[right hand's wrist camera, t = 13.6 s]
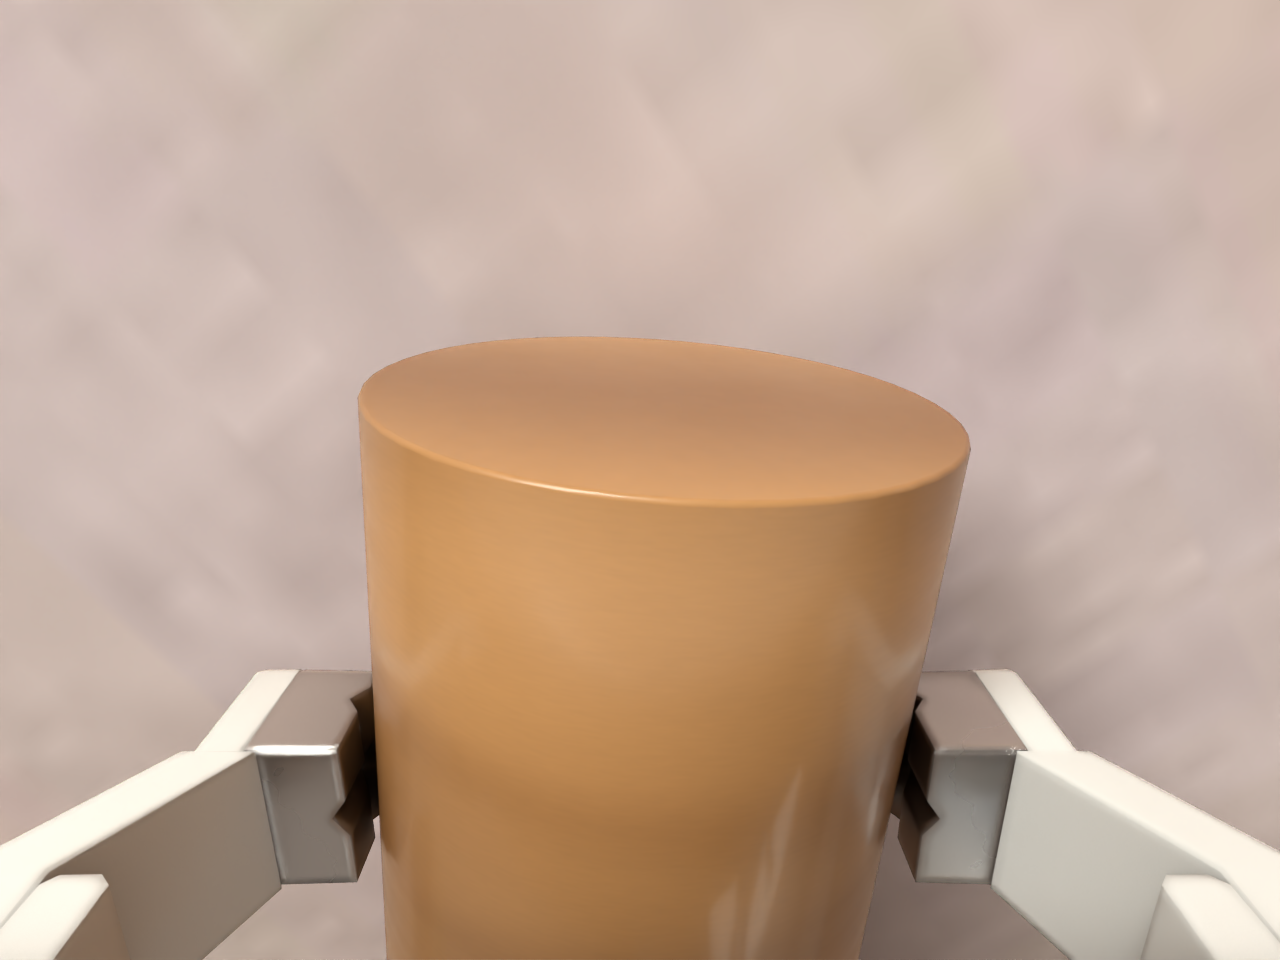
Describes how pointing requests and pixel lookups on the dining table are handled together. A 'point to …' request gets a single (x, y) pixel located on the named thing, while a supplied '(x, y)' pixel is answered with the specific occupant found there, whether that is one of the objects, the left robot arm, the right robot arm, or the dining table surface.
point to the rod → (643, 644)
